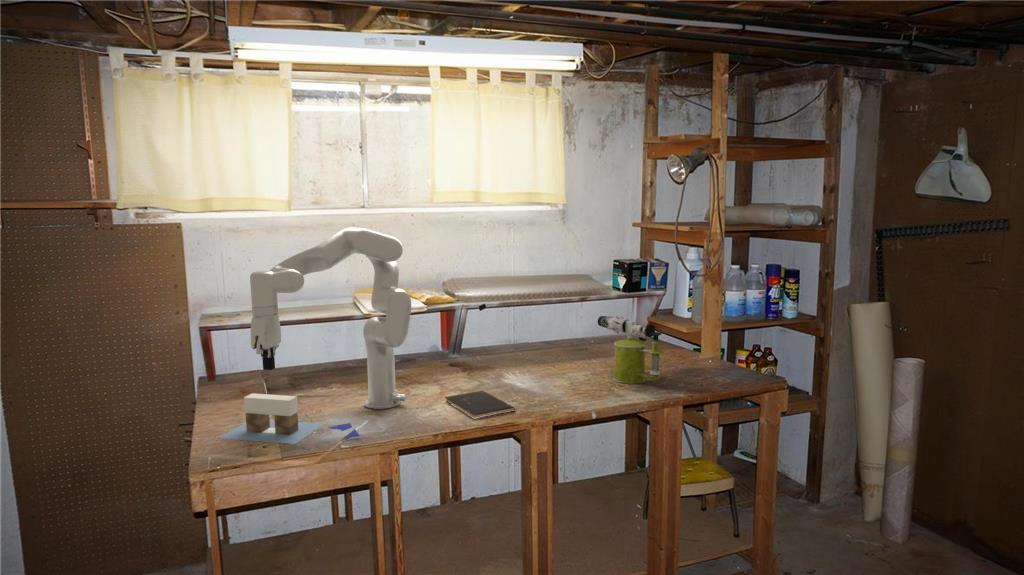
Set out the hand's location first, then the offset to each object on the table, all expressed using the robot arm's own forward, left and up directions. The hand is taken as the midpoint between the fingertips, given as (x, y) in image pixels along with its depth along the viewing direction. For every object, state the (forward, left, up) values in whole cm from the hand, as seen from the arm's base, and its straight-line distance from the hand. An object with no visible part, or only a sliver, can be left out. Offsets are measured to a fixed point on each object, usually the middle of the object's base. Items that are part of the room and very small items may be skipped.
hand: (269, 369), depth 212 cm
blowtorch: (-107, -83, -21) cm, 137 cm away
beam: (0, 0, -14) cm, 14 cm away
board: (0, 0, -21) cm, 21 cm away
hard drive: (-22, -4, -22) cm, 31 cm away
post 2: (-5, 0, -20) cm, 21 cm away
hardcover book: (-57, -39, -22) cm, 72 cm away
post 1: (+5, 0, -20) cm, 21 cm away
